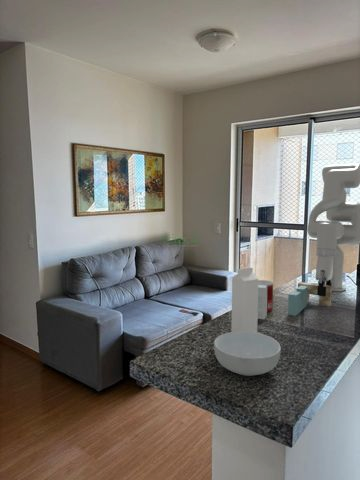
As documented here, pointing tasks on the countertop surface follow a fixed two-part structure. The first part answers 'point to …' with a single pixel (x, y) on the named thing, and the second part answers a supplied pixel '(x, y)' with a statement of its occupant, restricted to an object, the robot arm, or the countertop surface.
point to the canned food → (268, 293)
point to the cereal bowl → (247, 352)
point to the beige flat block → (313, 290)
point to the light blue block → (297, 300)
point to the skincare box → (262, 301)
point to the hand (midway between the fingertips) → (324, 293)
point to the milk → (244, 301)
